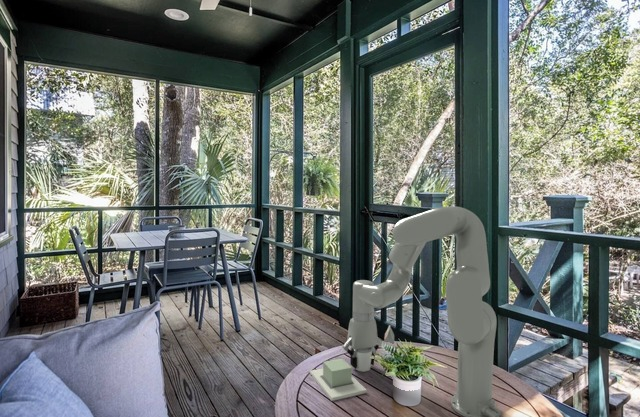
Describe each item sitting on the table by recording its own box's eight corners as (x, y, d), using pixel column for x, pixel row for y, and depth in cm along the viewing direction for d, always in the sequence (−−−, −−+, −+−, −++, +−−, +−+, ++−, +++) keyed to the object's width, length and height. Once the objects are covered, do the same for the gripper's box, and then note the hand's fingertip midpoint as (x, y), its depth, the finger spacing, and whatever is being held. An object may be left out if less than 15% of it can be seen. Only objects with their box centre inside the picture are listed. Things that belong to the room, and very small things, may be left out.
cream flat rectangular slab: (366, 392, 117) (366, 389, 117) (331, 401, 112) (331, 397, 112) (340, 367, 134) (340, 364, 134) (309, 373, 129) (309, 370, 129)
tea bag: (393, 349, 149) (394, 324, 149) (393, 356, 143) (394, 331, 142) (384, 348, 150) (385, 324, 149) (383, 355, 143) (384, 330, 143)
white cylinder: (371, 363, 137) (372, 345, 136) (372, 372, 130) (372, 353, 129) (352, 362, 137) (353, 344, 137) (352, 371, 130) (352, 352, 130)
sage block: (351, 382, 121) (351, 367, 121) (331, 386, 118) (332, 371, 118) (341, 372, 127) (342, 358, 127) (323, 376, 125) (323, 361, 125)
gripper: (378, 309, 139) (377, 356, 140) (336, 315, 133) (336, 364, 134) (389, 316, 133) (388, 365, 133) (346, 322, 126) (345, 374, 127)
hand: (362, 364), depth 134 cm, fingers closed on white cylinder, 6 cm apart
